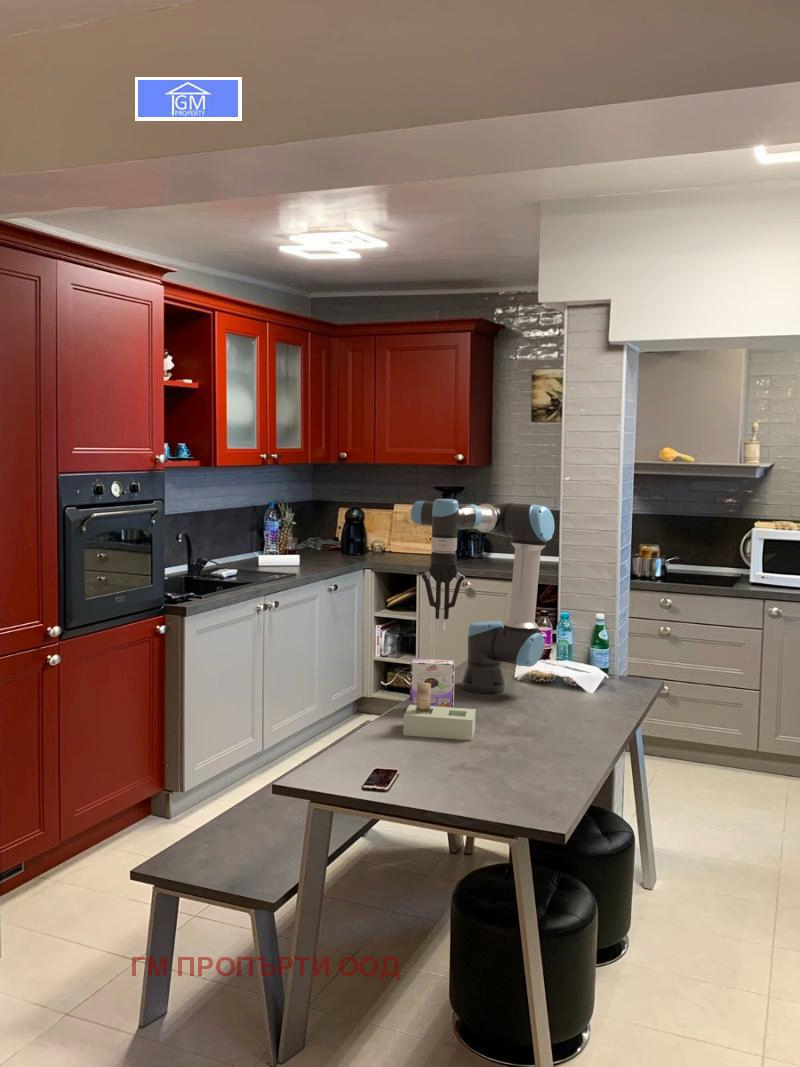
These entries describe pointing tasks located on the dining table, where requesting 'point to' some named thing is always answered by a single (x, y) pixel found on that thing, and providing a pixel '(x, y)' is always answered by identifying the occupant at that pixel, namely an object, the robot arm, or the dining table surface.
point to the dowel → (423, 698)
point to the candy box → (433, 680)
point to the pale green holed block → (440, 723)
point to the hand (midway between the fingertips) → (441, 629)
